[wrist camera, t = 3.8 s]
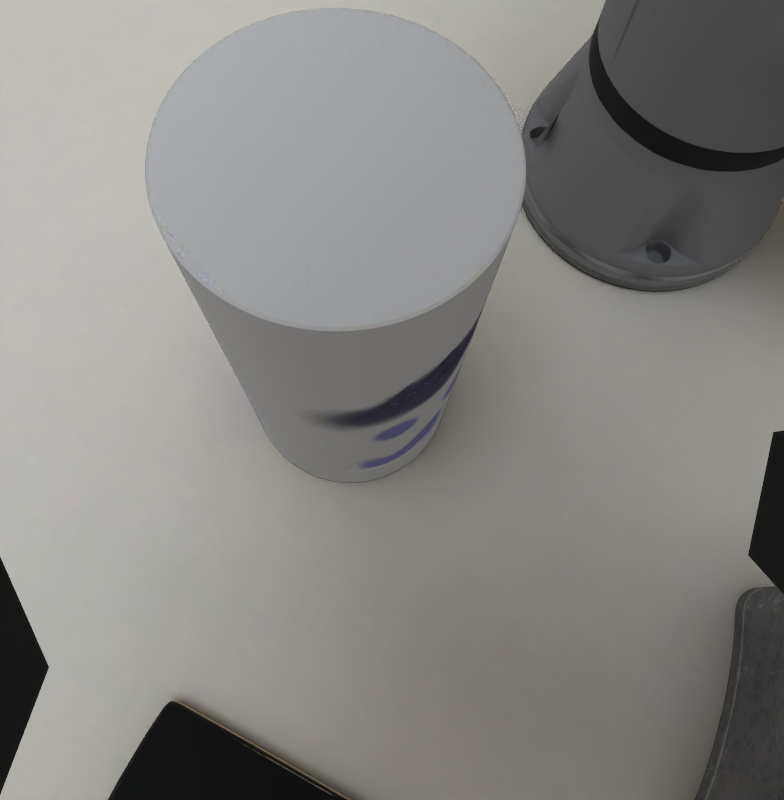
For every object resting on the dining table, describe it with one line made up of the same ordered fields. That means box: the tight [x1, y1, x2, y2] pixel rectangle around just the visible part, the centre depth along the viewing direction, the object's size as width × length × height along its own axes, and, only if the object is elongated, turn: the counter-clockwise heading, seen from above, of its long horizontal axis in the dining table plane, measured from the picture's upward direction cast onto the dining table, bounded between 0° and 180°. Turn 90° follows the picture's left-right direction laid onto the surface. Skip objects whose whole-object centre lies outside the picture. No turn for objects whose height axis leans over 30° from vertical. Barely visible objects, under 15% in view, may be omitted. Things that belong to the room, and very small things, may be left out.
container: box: [145, 8, 526, 482], centre depth 28 cm, size 10×10×20 cm
